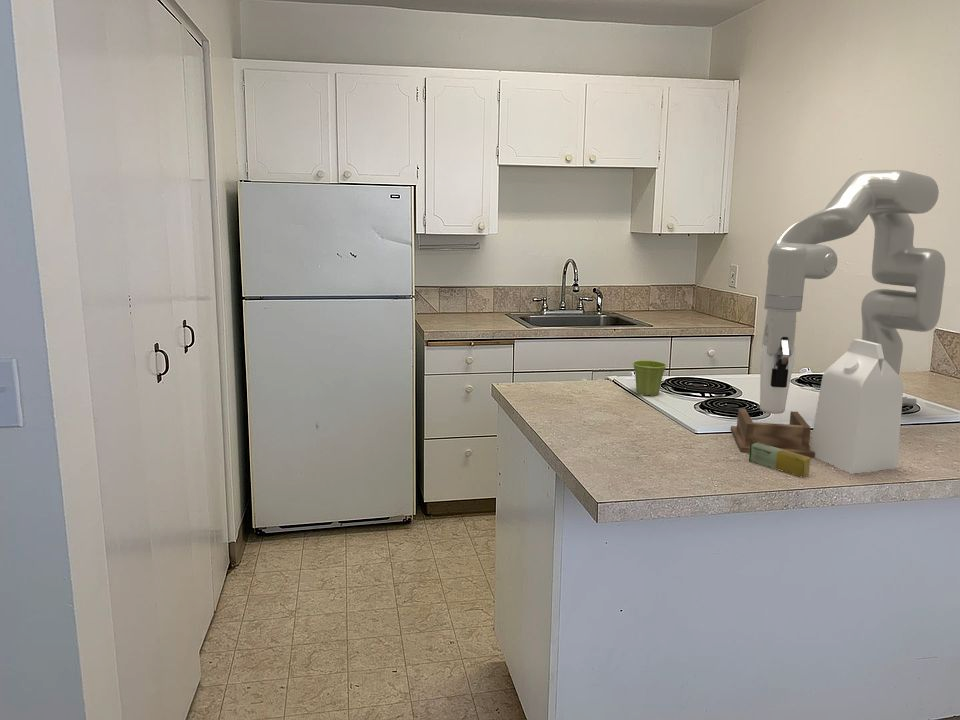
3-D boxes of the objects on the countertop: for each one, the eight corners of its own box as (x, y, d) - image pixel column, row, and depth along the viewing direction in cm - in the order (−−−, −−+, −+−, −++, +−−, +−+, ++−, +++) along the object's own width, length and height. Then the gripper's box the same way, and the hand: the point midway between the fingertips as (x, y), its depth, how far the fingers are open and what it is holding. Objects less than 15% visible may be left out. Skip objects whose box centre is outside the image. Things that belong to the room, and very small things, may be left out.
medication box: (747, 461, 151) (749, 443, 150) (754, 458, 153) (756, 440, 152) (802, 478, 142) (804, 459, 141) (809, 475, 144) (811, 456, 143)
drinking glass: (791, 416, 158) (798, 349, 155) (758, 414, 159) (765, 347, 156) (784, 408, 165) (791, 343, 161) (753, 406, 166) (759, 342, 163)
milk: (897, 470, 148) (914, 346, 142) (851, 476, 144) (867, 348, 139) (851, 451, 159) (866, 335, 153) (808, 456, 155) (821, 337, 150)
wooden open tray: (797, 434, 169) (800, 409, 168) (814, 457, 154) (817, 430, 152) (730, 429, 172) (732, 405, 170) (740, 452, 156) (743, 425, 155)
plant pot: (643, 387, 210) (645, 358, 209) (671, 394, 204) (673, 364, 202) (623, 392, 204) (625, 363, 202) (652, 399, 198) (654, 368, 196)
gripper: (758, 297, 166) (750, 373, 170) (772, 307, 149) (764, 391, 153) (792, 298, 164) (784, 375, 168) (811, 309, 148) (802, 393, 152)
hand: (775, 382), depth 161 cm, fingers closed on drinking glass, 6 cm apart
